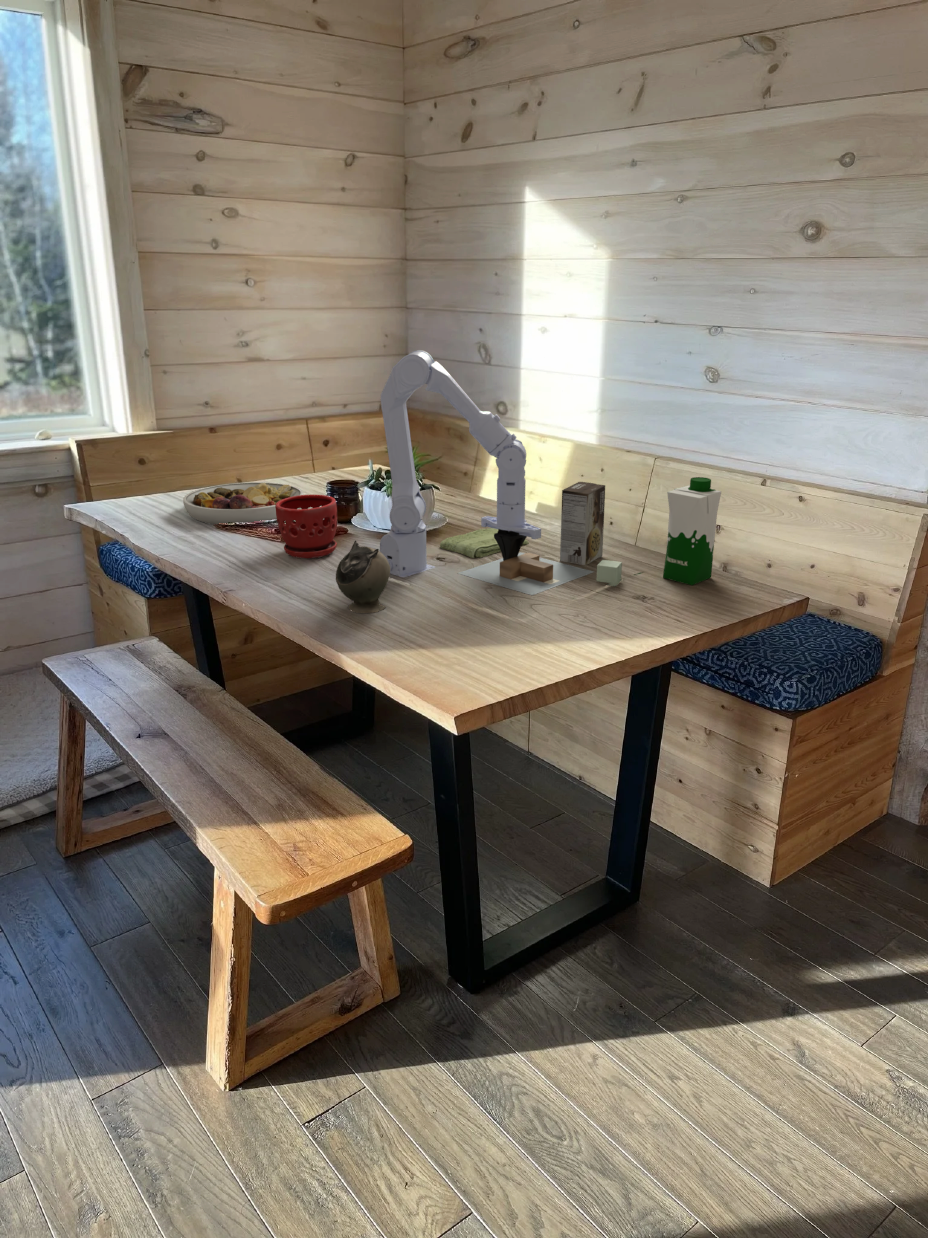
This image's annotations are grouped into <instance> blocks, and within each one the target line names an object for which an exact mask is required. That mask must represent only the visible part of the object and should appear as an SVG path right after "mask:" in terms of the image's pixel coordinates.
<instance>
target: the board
mask: <svg viewBox="0 0 928 1238" xmlns="http://www.w3.org/2000/svg"><path fill="white" fill-rule="evenodd" d="M523 554H526V553H525V552H521V551H519V554H518V556H520V555H523ZM502 561H503V557H502V558H499V559H497V560H493V561H490V562H487V563H484V564H480V565H477V566H475V567H472V568H469V569H466V570H463V571H459V572H457V574H458V575H462V576H464V577H465V576H466V577H468V578H472V579H475V580H478V581H482V582H485V583H488V584H489V583H490V584H492V585H495V586H498V587H503V588H505V589H509V590H511V591H512V590H513V591H516V592H519V593H523V594H526V595H530V596H534V595H538V594H540V593H543V592H545V591H548V590H550V589H553V588H555V587H558V586H561V585H564V584H567V583H568V582H572V581H574V580H577V579H579V578H582V577H583V578H584V577H585V576H587V575H590V574H593V573H595V571H594V570H590V569H585V568H583V567H577V566H574V565H570V564H566V563H563V562H560V561H559V562H558V561H555V560H552V559H547V558H543V557H540V559H539V561H541V562H545V563H549V564H553V579H551V580H549V581H546V582H540V581H537V580H533V579H529V578H526V577H522V576H519V577H516V578H513V579H508V578H504V577H501V576H500V562H502Z"/></svg>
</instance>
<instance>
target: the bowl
mask: <svg viewBox="0 0 928 1238" xmlns="http://www.w3.org/2000/svg"><path fill="white" fill-rule="evenodd" d="M299 495H304V491H303V490H302V489H300V488H298V487H296V486H294V485H290V484H286V483H285V484H284V483H280V482H279V483H278V482H260V481H255V482H253V481H252V482H234V483H233V482H232V483H225V484H224V483H223V484H218V485H211V486H207V487H203V488H198V489H195V490H194V491H191V492H189V493H186V495H184V497H183V499H182V501H183V503H182V504H183V507H184V509H185V511H186V513H187V514H188V515H189V516H190V517H191V518H193V519H195V520H197V522H198V521H199V522H201V523H204V522H205V524H208V523H210V525H214V524H219V523H228V522H254V521H260V520H261V521H262V520H272V519H277V517H276V508H275V505H276V503H277V502H278V501H280V500H282V499H285V498H289V497H293V496H299ZM297 509H301V508H297Z"/></svg>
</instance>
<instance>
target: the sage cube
mask: <svg viewBox="0 0 928 1238" xmlns="http://www.w3.org/2000/svg"><path fill="white" fill-rule="evenodd" d="M622 571H623V561H617V560H608V559H602V560H601V561H599V563H598V564H597V565H596V582H599V583H600V582H601V583H607V584H605V586H608V587H609V586H611V587H617V586H618V585H619V583H620V582H621V581H622Z"/></svg>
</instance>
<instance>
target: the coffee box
mask: <svg viewBox="0 0 928 1238" xmlns="http://www.w3.org/2000/svg"><path fill="white" fill-rule="evenodd" d="M605 500H606V485H605V484H597V483H593V482H588V481H586V482H585V481H577V482H576V483H573V484H572V485H570V486H568V487H565V488H564V489H562V490H561V515H560V516H561V518H560V520H561V521H560V544H559V545H560V547H559V562H562V563H563V562H565V563H569V564H577V565H582V566H587V565H588V564H591V563H592V562H593V561H594V562H595V560H597V559H598V558H603V549H604V527H605V508H606V507H605V505H606V503H605Z"/></svg>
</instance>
